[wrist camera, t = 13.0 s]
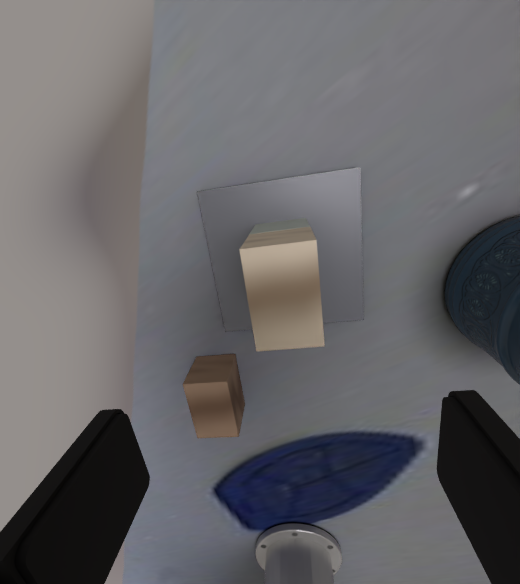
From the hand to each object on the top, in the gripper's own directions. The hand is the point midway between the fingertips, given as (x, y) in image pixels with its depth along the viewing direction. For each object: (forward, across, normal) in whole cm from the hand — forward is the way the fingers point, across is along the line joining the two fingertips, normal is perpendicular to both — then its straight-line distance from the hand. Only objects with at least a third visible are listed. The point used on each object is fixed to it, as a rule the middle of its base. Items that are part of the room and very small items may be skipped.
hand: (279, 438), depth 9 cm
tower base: (+22, 0, 0) cm, 22 cm away
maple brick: (+15, 0, 0) cm, 15 cm away
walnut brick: (+22, +9, +14) cm, 27 cm away
